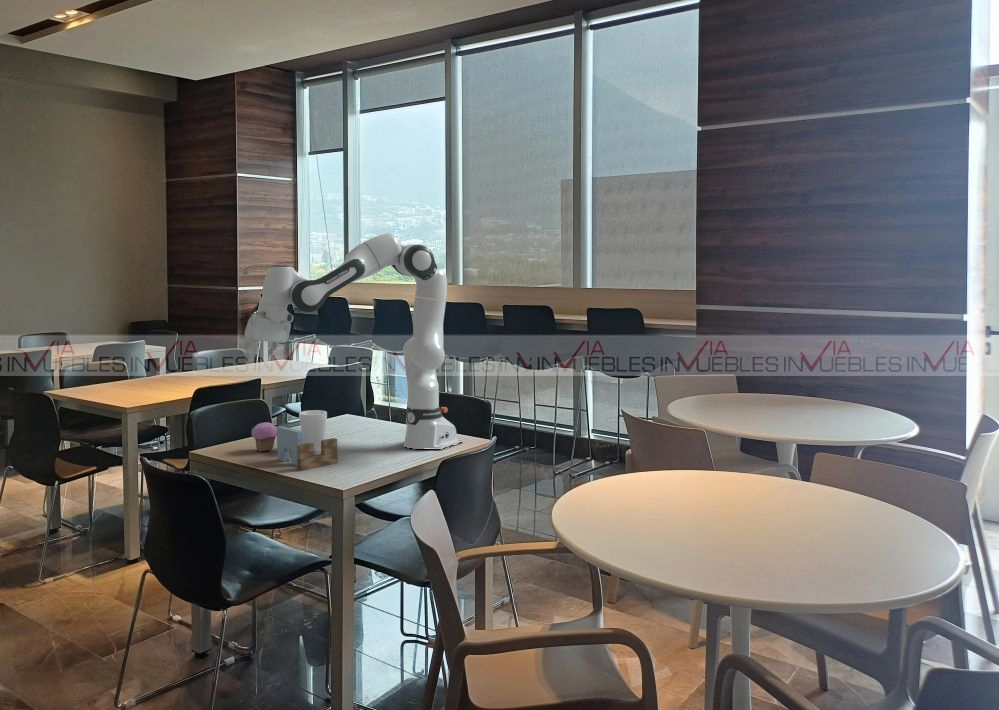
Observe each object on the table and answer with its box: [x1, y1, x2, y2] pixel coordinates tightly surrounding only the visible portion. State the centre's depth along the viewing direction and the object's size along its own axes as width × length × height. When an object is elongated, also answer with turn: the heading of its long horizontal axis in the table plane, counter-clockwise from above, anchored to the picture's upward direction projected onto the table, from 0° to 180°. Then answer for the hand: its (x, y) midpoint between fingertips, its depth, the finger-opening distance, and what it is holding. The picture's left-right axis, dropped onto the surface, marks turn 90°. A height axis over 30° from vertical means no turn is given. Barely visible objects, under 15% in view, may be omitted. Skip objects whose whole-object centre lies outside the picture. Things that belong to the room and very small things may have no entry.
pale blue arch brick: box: [276, 425, 303, 466], centre depth 256 cm, size 12×2×11 cm, turn 48°
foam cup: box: [298, 409, 328, 452], centre depth 274 cm, size 10×9×13 cm
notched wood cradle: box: [296, 437, 339, 472], centre depth 251 cm, size 14×2×8 cm, turn 138°
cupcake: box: [251, 421, 278, 452], centre depth 271 cm, size 9×9×10 cm
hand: (262, 354), depth 255 cm, fingers open, 8 cm apart
